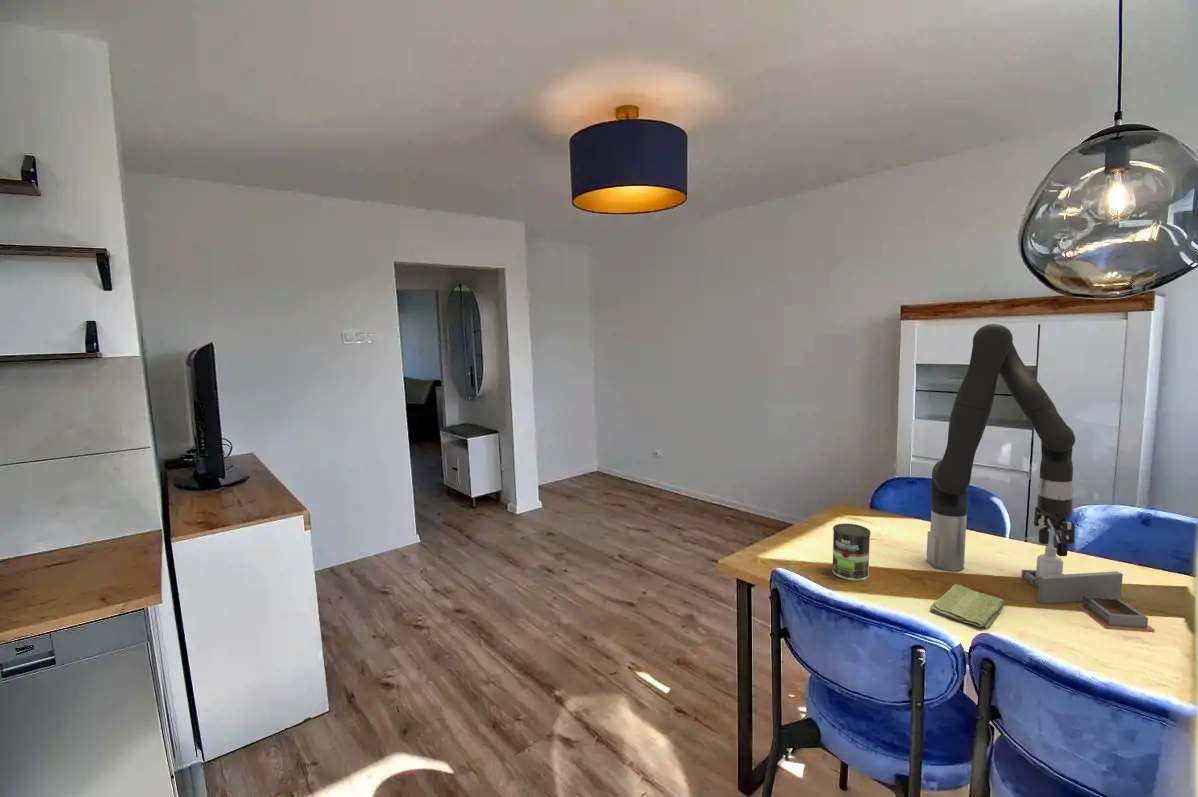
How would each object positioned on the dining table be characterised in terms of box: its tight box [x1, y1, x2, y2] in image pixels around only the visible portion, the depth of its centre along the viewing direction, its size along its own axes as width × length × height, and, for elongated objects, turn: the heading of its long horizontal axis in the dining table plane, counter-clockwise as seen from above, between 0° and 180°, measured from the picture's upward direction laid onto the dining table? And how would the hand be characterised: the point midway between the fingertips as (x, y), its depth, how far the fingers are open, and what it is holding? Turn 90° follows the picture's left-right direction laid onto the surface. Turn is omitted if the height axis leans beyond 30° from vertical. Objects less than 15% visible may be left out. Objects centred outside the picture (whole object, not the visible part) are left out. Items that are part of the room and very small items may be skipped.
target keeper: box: [1076, 596, 1155, 632], centre depth 135 cm, size 10×11×3 cm
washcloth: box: [929, 583, 1005, 630], centre depth 142 cm, size 13×18×3 cm
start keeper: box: [1021, 569, 1064, 590], centre depth 154 cm, size 10×8×2 cm
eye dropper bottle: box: [1035, 542, 1064, 580], centre depth 153 cm, size 4×6×12 cm
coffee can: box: [831, 523, 871, 582], centre depth 164 cm, size 10×10×14 cm
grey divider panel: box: [1037, 570, 1124, 604], centre depth 144 cm, size 22×2×7 cm, turn 93°
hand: (1052, 549), depth 153 cm, fingers open, 8 cm apart
